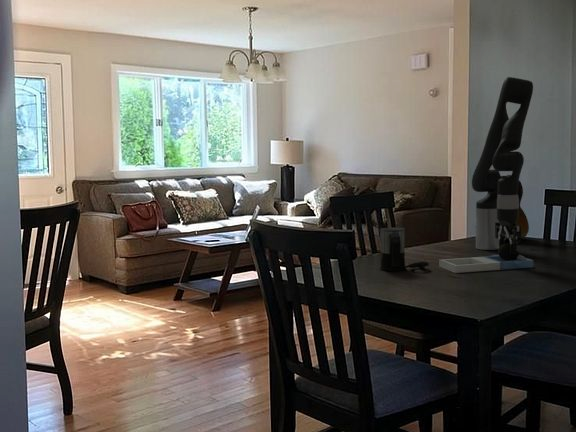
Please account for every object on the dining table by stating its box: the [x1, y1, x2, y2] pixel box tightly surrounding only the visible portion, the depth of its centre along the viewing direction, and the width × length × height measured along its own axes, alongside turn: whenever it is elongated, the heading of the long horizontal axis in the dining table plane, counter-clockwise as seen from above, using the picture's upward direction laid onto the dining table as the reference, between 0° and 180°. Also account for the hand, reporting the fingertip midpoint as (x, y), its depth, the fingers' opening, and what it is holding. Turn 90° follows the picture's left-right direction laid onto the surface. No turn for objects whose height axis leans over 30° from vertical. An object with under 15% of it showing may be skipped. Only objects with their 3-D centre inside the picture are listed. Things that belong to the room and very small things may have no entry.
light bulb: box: [497, 242, 526, 261], centre depth 236 cm, size 6×6×10 cm
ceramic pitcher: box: [499, 174, 530, 240], centre depth 298 cm, size 20×20×30 cm
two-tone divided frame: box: [438, 254, 534, 274], centre depth 236 cm, size 17×30×3 cm, turn 102°
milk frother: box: [379, 227, 430, 272], centre depth 235 cm, size 14×16×15 cm
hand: (507, 252), depth 237 cm, fingers closed on light bulb, 7 cm apart
